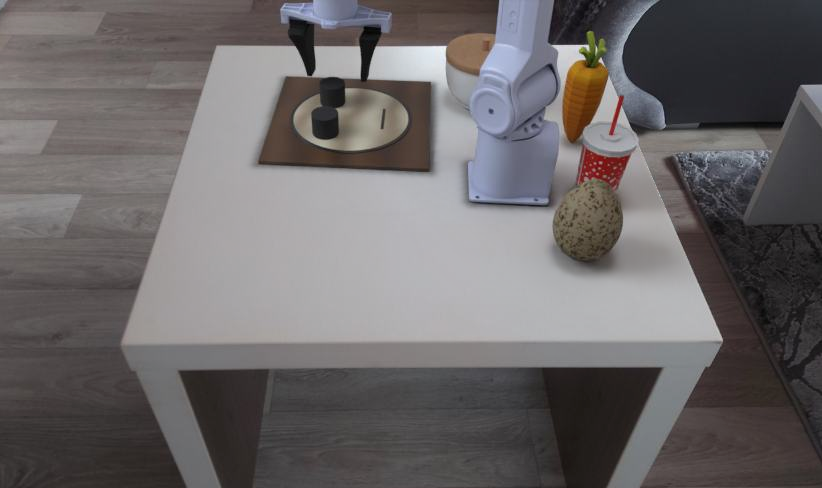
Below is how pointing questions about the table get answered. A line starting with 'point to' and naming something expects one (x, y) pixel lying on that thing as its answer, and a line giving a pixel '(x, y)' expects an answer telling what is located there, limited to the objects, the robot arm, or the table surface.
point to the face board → (353, 126)
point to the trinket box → (466, 64)
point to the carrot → (584, 89)
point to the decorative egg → (588, 221)
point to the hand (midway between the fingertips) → (337, 75)
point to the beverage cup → (606, 150)
